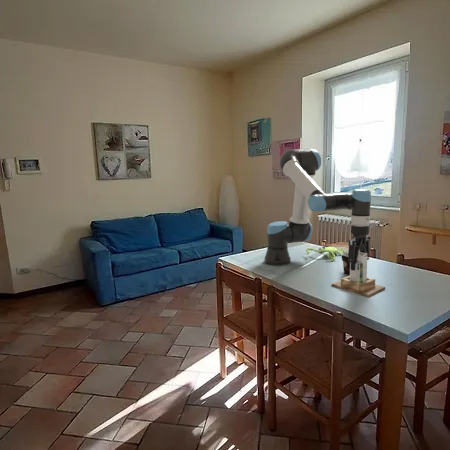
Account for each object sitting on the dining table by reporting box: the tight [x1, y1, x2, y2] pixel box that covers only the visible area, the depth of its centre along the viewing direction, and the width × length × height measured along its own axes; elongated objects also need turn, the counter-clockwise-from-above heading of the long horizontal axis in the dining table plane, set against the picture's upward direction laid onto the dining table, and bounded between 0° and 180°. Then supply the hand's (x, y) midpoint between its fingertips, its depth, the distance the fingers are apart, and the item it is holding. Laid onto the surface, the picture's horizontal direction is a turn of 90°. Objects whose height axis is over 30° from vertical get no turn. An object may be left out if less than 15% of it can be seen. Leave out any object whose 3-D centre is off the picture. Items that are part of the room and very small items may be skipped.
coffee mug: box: [341, 252, 350, 276], centre depth 169 cm, size 12×9×10 cm
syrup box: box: [349, 251, 368, 283], centre depth 148 cm, size 6×6×14 cm
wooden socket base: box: [330, 275, 386, 298], centre depth 149 cm, size 18×14×4 cm
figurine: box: [305, 246, 348, 263], centre depth 203 cm, size 18×27×6 cm
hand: (358, 275), depth 148 cm, fingers open, 6 cm apart
